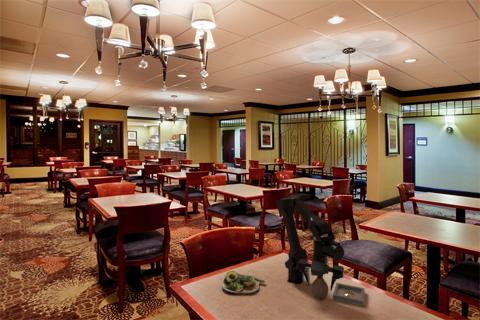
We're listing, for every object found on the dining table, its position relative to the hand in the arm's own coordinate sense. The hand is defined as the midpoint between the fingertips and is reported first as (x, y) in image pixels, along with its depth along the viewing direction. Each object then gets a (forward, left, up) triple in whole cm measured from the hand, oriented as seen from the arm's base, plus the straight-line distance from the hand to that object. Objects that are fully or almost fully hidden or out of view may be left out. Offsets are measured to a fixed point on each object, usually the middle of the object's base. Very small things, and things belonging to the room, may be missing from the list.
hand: (319, 287), depth 119 cm
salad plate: (-35, -5, -5) cm, 36 cm away
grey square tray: (+11, +6, -4) cm, 13 cm away
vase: (0, 0, -4) cm, 4 cm away
